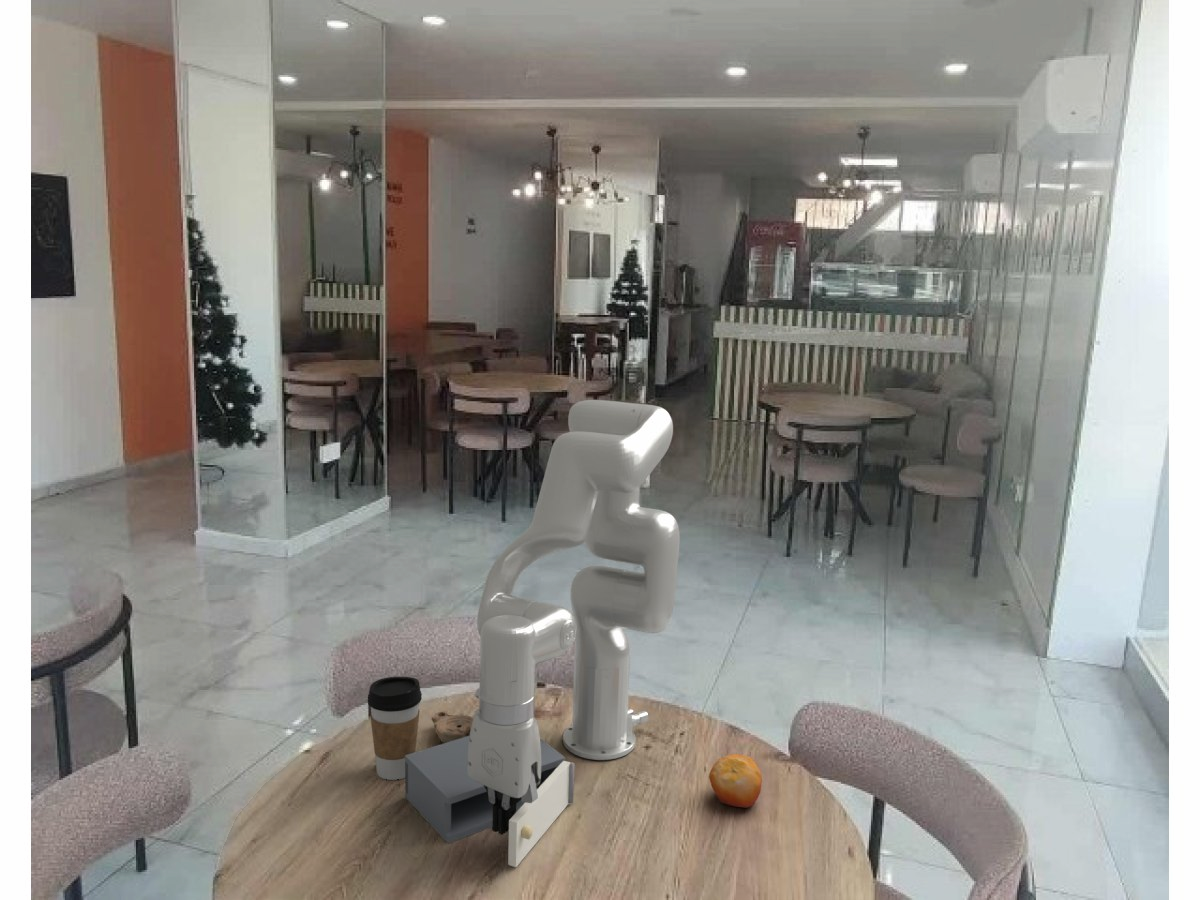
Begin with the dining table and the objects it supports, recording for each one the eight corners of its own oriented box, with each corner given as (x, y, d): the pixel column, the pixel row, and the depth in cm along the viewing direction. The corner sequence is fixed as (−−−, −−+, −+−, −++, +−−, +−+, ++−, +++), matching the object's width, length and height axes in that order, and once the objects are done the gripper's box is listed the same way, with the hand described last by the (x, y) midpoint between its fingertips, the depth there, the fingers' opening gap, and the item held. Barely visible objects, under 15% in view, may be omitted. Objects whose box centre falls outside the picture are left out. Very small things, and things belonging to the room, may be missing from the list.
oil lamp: (421, 731, 159) (421, 704, 158) (459, 720, 163) (460, 694, 162) (456, 764, 149) (456, 736, 148) (495, 751, 153) (496, 724, 152)
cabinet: (516, 759, 150) (517, 720, 149) (564, 799, 139) (565, 757, 138) (405, 797, 138) (405, 755, 137) (447, 843, 127) (448, 798, 126)
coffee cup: (409, 788, 141) (409, 698, 138) (359, 780, 143) (357, 692, 140) (429, 760, 149) (429, 676, 146) (382, 754, 151) (381, 669, 148)
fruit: (770, 780, 144) (766, 752, 139) (757, 825, 139) (752, 798, 134) (721, 767, 147) (716, 740, 142) (707, 811, 142) (701, 784, 137)
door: (563, 799, 139) (564, 759, 138) (576, 802, 138) (577, 762, 137) (508, 864, 123) (509, 820, 122) (522, 869, 122) (523, 824, 121)
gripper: (447, 700, 124) (446, 822, 128) (532, 733, 116) (529, 862, 119) (483, 682, 131) (481, 798, 134) (566, 712, 122) (562, 835, 126)
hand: (504, 828), depth 127 cm, fingers closed
